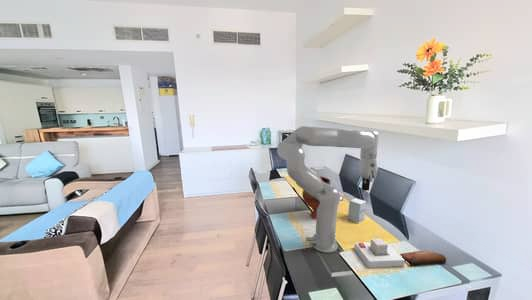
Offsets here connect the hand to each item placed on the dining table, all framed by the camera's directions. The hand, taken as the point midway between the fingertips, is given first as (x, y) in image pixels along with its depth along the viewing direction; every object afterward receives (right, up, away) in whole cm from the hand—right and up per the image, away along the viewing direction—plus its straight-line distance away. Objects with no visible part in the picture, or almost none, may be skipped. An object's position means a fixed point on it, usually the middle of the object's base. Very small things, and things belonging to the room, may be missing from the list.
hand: (365, 189), depth 115 cm
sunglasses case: (+20, -30, -13) cm, 39 cm away
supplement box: (+5, -23, +25) cm, 34 cm away
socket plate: (+1, -29, -11) cm, 31 cm away
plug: (+1, -29, -11) cm, 31 cm away
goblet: (-19, -22, +28) cm, 41 cm away
